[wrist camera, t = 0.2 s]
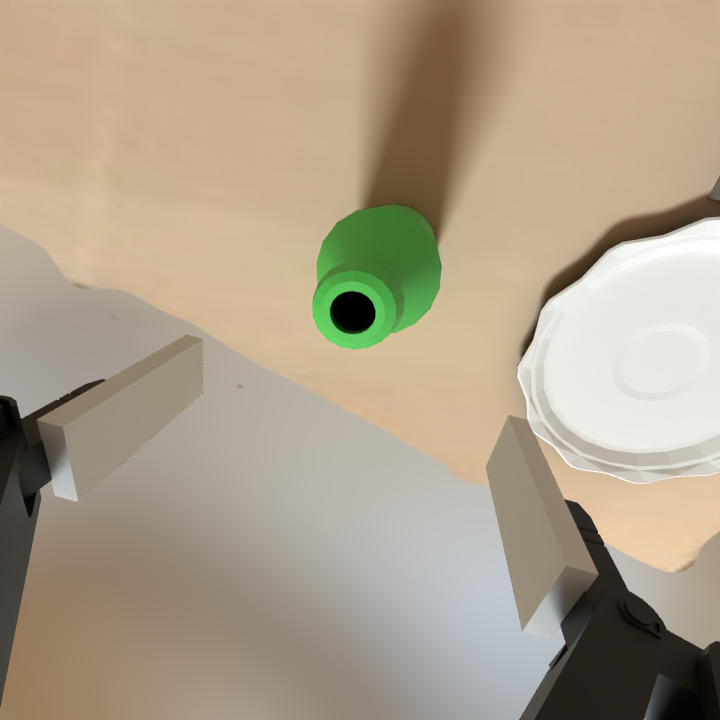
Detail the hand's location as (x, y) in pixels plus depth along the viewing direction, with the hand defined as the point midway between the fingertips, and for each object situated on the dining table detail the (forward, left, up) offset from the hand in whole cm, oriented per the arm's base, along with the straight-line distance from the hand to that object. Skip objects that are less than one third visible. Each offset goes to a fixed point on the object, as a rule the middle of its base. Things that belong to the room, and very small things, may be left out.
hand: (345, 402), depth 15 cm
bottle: (-3, -1, -28) cm, 28 cm away
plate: (+3, +30, -28) cm, 42 cm away
